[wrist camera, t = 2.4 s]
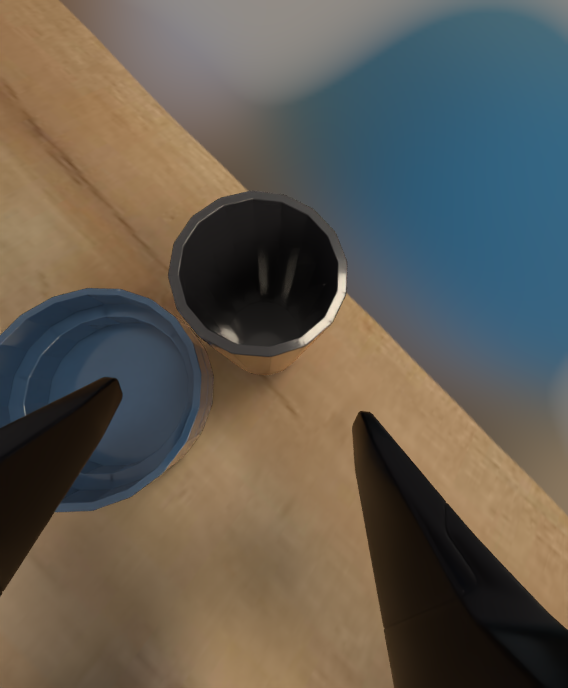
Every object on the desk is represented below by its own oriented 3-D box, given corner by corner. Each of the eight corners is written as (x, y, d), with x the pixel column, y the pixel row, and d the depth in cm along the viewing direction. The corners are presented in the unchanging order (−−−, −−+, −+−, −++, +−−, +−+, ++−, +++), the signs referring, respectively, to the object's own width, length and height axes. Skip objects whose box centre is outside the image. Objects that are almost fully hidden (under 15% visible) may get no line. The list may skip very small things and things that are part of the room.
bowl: (234, 446, 20) (225, 463, 15) (52, 511, 18) (-17, 550, 14) (191, 290, 22) (171, 265, 18) (24, 335, 20) (-44, 321, 16)
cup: (312, 361, 22) (372, 325, 9) (237, 385, 21) (195, 381, 8) (288, 291, 23) (313, 175, 10) (216, 312, 22) (150, 213, 9)
